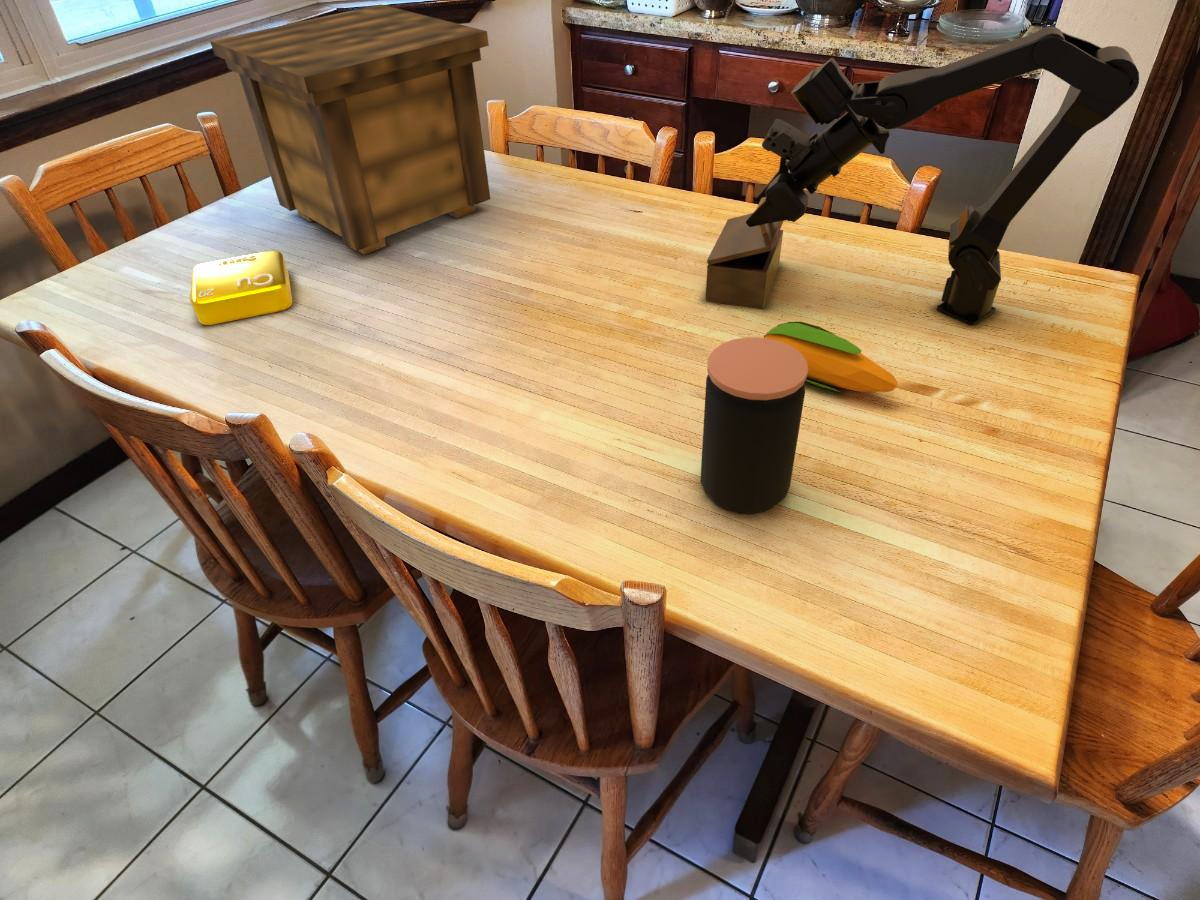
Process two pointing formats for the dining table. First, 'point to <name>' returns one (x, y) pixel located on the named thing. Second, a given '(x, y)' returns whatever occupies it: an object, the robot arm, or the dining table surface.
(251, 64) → the crate
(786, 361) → the coffee jar
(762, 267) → the brown wooden box
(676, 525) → the dining table surface
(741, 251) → the brown box lid
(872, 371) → the corn
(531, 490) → the dining table surface
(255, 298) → the element tile
